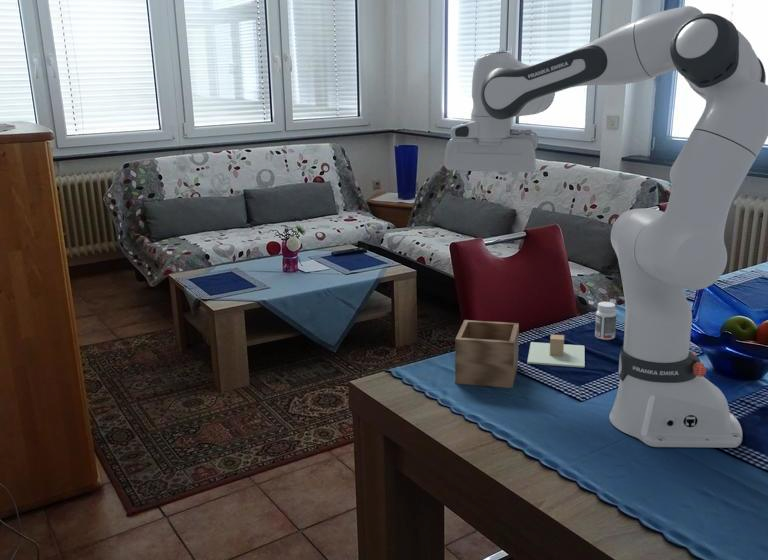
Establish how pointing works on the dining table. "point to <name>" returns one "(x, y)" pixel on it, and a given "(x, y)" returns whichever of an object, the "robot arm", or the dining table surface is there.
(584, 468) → the dining table surface
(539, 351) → the lid
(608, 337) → the pill bottle
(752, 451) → the dining table surface
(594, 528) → the dining table surface
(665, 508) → the dining table surface
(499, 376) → the box
